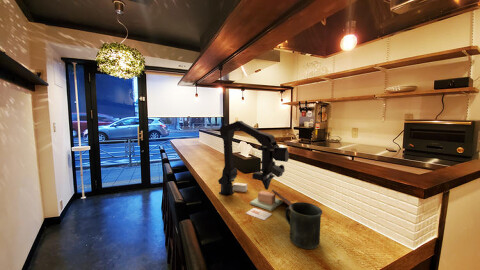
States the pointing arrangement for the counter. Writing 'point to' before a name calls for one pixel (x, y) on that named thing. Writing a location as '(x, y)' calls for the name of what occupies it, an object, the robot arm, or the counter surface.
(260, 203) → the baseplate
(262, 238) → the counter surface
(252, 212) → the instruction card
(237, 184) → the cream brick
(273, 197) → the terracotta brick
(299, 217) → the mug
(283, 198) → the wooden tablet
